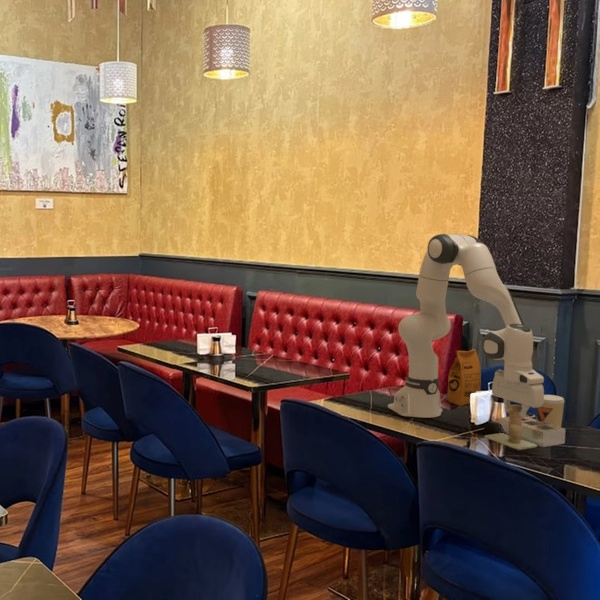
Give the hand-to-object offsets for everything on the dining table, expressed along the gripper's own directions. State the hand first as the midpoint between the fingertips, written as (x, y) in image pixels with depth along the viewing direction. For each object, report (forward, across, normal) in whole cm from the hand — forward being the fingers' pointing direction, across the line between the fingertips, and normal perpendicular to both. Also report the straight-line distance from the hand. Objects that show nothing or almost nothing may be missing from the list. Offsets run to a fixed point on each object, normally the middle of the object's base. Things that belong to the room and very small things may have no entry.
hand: (515, 414), depth 237 cm
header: (+10, -3, +10) cm, 15 cm away
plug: (+9, 0, 0) cm, 9 cm away
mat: (+10, -2, 0) cm, 10 cm away
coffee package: (+10, -53, +23) cm, 59 cm away
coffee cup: (+10, -7, +23) cm, 26 cm away
